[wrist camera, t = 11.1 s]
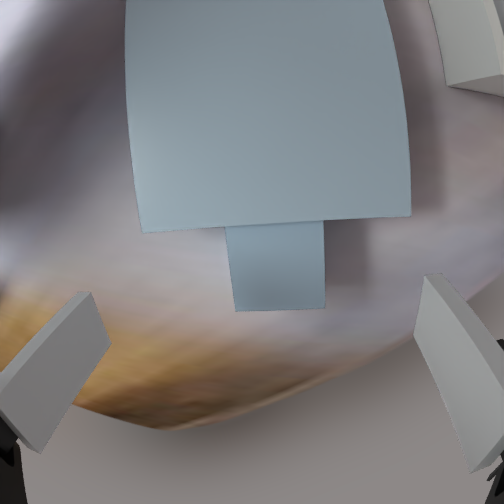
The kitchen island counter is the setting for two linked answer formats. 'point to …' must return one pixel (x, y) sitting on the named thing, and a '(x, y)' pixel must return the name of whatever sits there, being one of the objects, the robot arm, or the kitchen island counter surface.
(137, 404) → the kitchen island counter surface
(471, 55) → the tub
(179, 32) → the lid
